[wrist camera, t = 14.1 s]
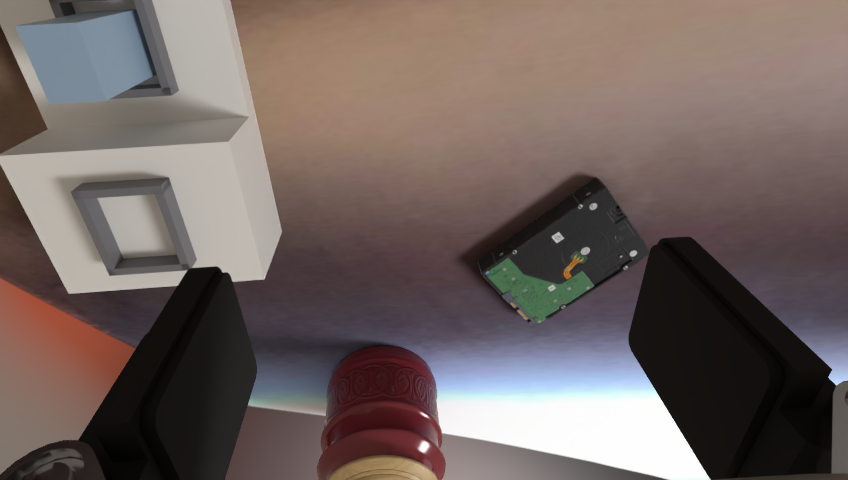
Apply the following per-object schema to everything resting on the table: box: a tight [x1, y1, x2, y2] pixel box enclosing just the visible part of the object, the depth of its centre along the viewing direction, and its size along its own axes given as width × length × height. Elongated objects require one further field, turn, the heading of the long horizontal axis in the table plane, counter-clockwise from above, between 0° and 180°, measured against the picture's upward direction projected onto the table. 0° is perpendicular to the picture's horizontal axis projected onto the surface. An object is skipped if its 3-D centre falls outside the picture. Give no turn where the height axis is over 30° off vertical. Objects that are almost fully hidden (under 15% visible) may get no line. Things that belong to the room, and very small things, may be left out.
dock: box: [0, 0, 282, 294], centre depth 36 cm, size 24×16×10 cm, turn 2°
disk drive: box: [477, 178, 650, 326], centre depth 50 cm, size 10×3×15 cm
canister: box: [317, 346, 445, 480], centre depth 51 cm, size 13×13×18 cm
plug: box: [15, 9, 157, 104], centre depth 32 cm, size 4×4×8 cm
